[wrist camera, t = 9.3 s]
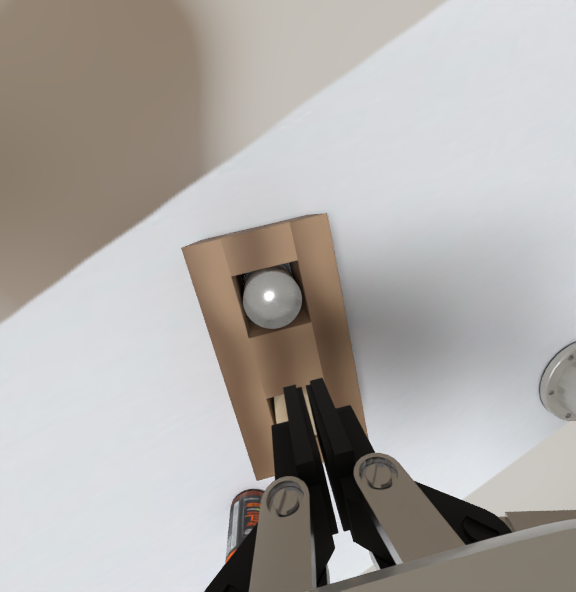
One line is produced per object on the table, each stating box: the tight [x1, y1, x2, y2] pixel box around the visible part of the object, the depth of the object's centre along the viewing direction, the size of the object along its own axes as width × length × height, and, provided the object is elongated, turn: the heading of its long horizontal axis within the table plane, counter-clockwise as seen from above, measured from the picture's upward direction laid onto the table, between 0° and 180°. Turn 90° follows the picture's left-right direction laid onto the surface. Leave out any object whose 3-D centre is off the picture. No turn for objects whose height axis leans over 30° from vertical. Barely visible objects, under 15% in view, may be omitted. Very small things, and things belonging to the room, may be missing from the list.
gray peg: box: [243, 264, 302, 329], centre depth 29 cm, size 5×5×9 cm
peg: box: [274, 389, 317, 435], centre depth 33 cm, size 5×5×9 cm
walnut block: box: [181, 213, 369, 481], centre depth 31 cm, size 12×24×9 cm, turn 13°
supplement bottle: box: [226, 490, 263, 562], centre depth 36 cm, size 6×6×11 cm
